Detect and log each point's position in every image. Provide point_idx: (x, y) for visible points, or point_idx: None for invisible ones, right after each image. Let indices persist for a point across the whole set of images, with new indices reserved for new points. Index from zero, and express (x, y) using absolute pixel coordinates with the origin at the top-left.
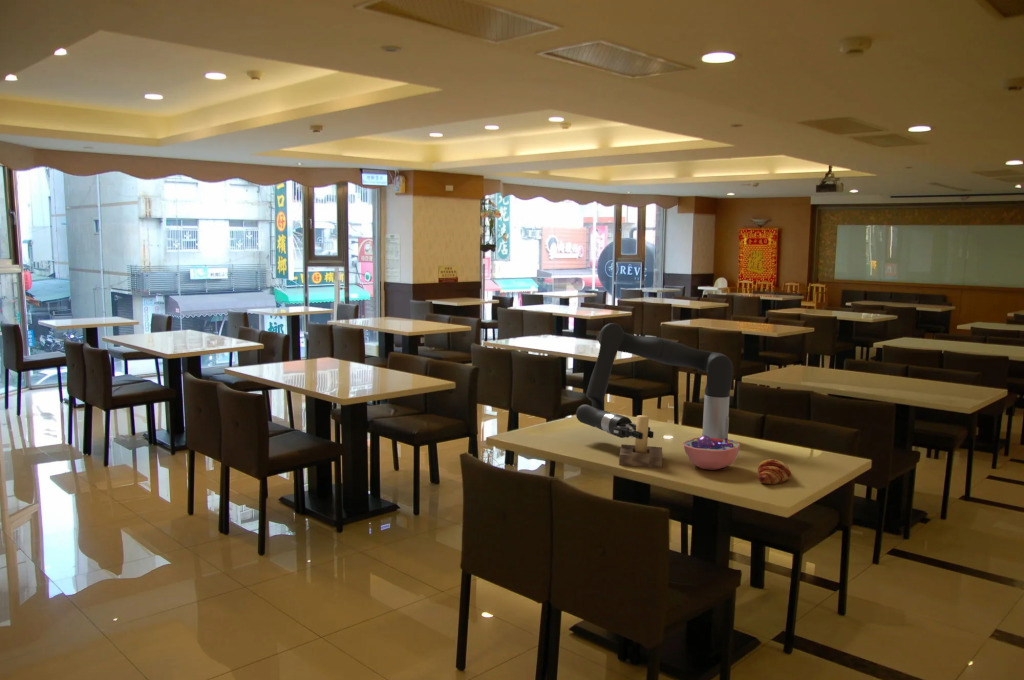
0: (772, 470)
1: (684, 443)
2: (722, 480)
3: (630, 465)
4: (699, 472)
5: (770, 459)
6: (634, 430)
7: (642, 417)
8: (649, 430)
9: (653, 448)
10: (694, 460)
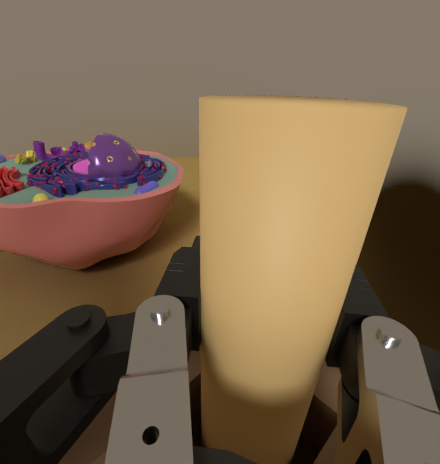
0: None
1: (144, 194)
2: (184, 203)
3: None
4: (168, 238)
5: (89, 144)
6: (367, 317)
7: (334, 99)
8: (187, 262)
9: (104, 413)
10: (161, 221)
